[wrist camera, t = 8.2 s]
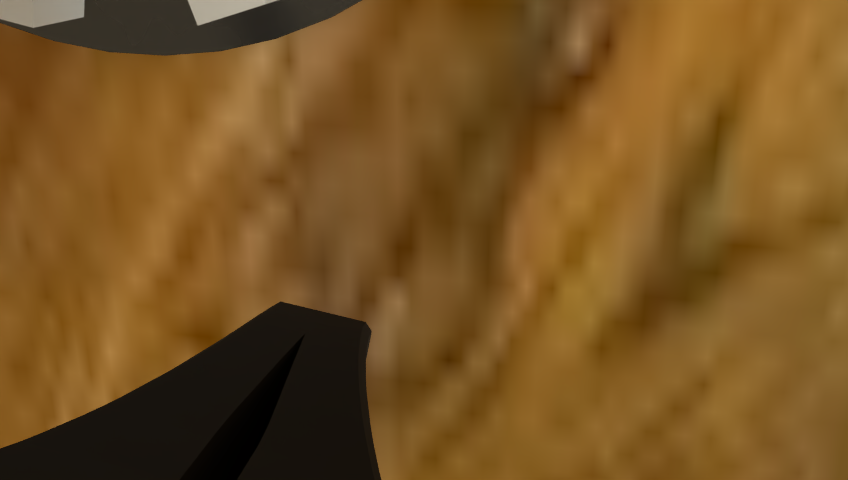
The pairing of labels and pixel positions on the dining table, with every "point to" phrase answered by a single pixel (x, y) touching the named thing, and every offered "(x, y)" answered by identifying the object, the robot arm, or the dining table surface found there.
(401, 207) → the dining table surface
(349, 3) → the wheel base
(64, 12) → the sprocket wheel
